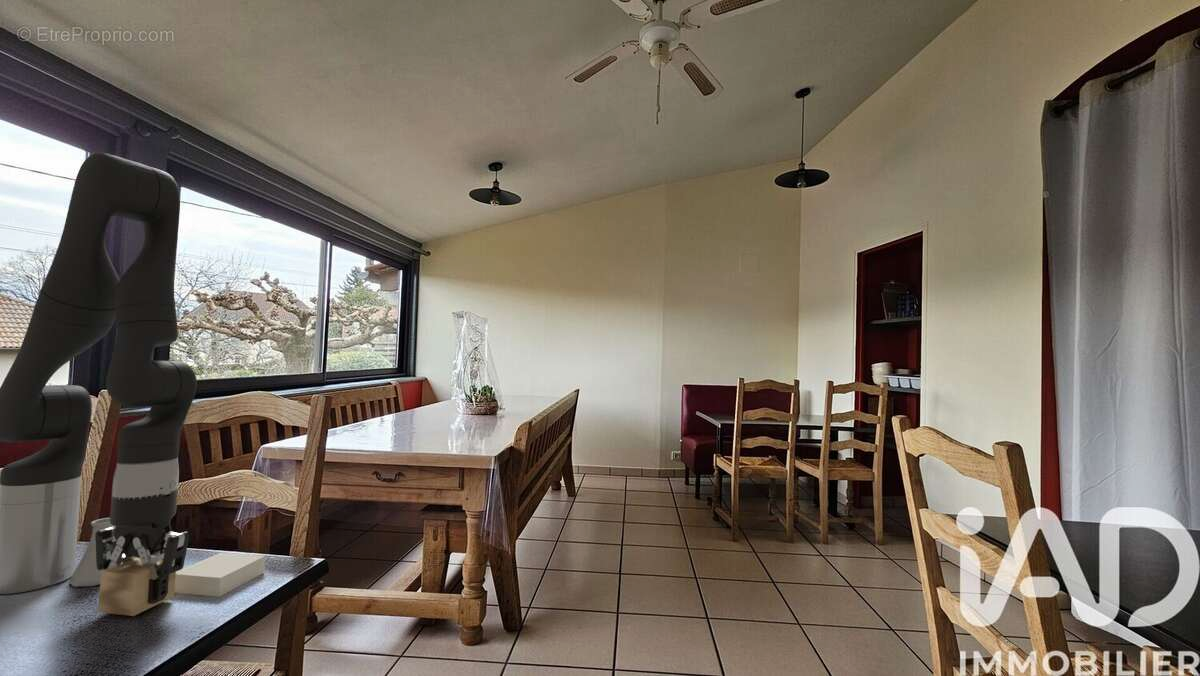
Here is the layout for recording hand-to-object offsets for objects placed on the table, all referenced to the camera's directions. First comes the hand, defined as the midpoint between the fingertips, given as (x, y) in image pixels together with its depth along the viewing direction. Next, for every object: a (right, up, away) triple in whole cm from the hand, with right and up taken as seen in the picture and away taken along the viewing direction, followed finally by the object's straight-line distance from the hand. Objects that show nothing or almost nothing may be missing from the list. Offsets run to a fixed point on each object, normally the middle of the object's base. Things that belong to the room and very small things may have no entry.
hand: (137, 599), depth 74 cm
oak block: (0, -1, 0) cm, 1 cm away
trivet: (+5, -2, +9) cm, 11 cm away
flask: (-16, -2, +10) cm, 19 cm away
